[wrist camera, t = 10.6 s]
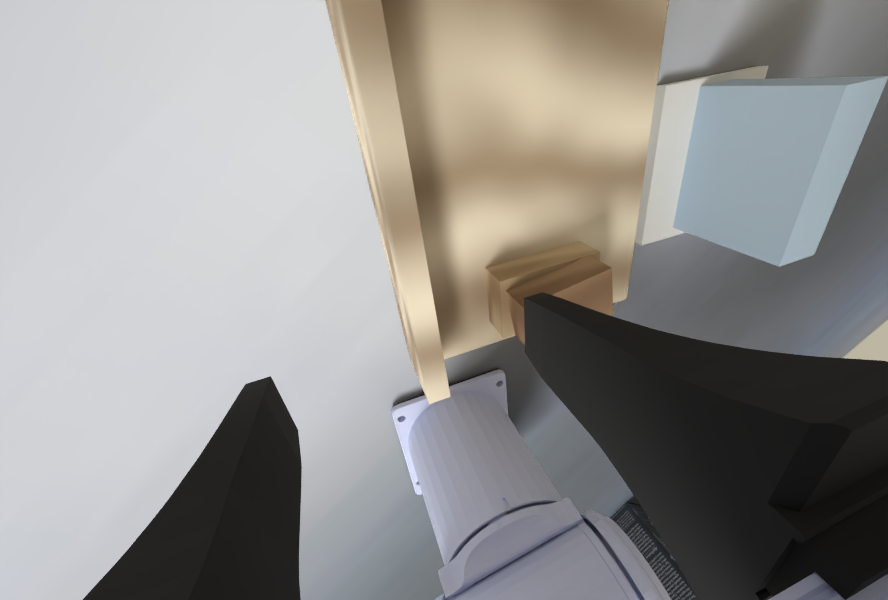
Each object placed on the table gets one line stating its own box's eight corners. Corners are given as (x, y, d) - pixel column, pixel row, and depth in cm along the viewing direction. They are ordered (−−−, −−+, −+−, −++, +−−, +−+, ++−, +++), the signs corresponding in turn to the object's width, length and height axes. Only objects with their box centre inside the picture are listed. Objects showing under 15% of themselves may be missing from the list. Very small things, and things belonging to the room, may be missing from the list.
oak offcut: (576, 293, 24) (595, 307, 22) (489, 321, 23) (503, 337, 21) (579, 240, 22) (600, 251, 20) (485, 267, 21) (499, 281, 19)
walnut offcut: (591, 299, 22) (613, 314, 20) (515, 334, 21) (531, 352, 20) (588, 254, 20) (611, 268, 19) (506, 291, 20) (523, 307, 18)
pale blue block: (702, 218, 25) (814, 254, 19) (672, 227, 24) (779, 266, 19) (735, 79, 21) (888, 76, 15) (700, 86, 20) (846, 85, 15)
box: (660, 506, 47) (744, 603, 38) (630, 536, 48) (704, 636, 39) (626, 500, 43) (711, 606, 34) (594, 533, 44) (668, 643, 35)
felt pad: (718, 217, 26) (727, 220, 26) (634, 242, 25) (641, 245, 24) (757, 66, 21) (768, 65, 21) (656, 85, 20) (666, 85, 20)
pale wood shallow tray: (616, 292, 26) (675, 330, 22) (410, 359, 23) (434, 418, 19) (662, -82, 16) (785, -139, 12) (313, -53, 13) (320, -117, 9)
